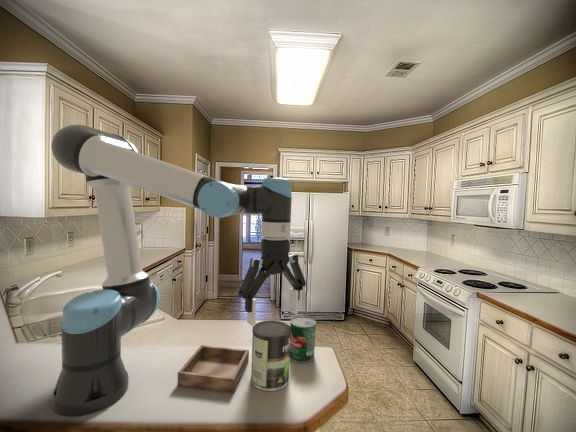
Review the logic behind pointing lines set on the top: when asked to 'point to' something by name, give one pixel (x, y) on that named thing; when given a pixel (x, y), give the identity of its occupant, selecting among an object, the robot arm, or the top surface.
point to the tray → (214, 369)
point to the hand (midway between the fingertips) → (273, 318)
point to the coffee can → (270, 355)
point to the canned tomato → (302, 339)
